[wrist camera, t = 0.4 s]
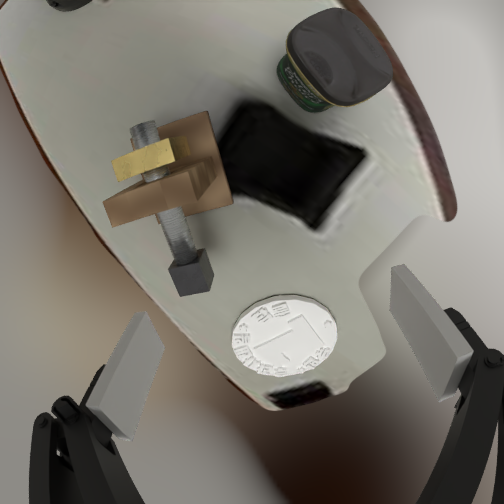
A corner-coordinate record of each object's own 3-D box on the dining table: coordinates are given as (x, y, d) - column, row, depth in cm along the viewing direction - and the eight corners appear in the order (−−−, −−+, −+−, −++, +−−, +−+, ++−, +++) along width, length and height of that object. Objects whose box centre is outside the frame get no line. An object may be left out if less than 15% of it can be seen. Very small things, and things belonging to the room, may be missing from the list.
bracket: (133, 138, 37) (77, 148, 24) (207, 111, 36) (178, 103, 22) (161, 221, 43) (121, 266, 29) (233, 201, 41) (220, 241, 28)
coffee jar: (266, 69, 33) (272, 24, 16) (311, 43, 31) (347, -11, 14) (307, 122, 36) (346, 119, 19) (350, 95, 34) (415, 78, 17)
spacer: (136, 153, 32) (111, 160, 26) (185, 135, 32) (168, 138, 25) (142, 171, 33) (118, 182, 27) (191, 154, 33) (175, 161, 26)
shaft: (134, 130, 29) (119, 132, 26) (163, 118, 29) (151, 118, 25) (186, 280, 38) (180, 296, 34) (214, 274, 37) (209, 291, 34)
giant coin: (337, 357, 55) (340, 367, 53) (248, 374, 58) (247, 384, 55) (329, 281, 47) (333, 290, 44) (219, 304, 49) (217, 314, 47)
